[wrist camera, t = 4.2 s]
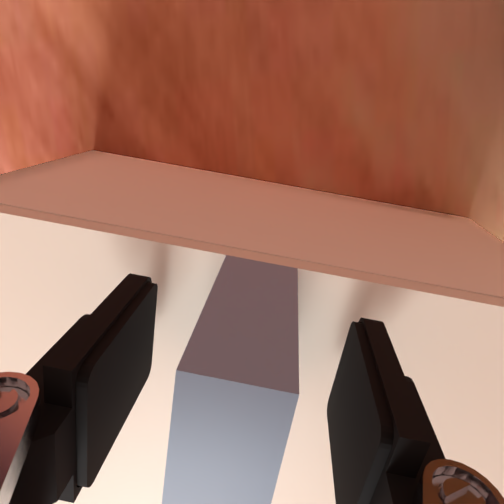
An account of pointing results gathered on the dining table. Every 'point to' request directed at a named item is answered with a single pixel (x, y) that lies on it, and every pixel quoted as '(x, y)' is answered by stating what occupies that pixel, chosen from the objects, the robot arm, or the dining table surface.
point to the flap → (246, 358)
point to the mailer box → (264, 218)
